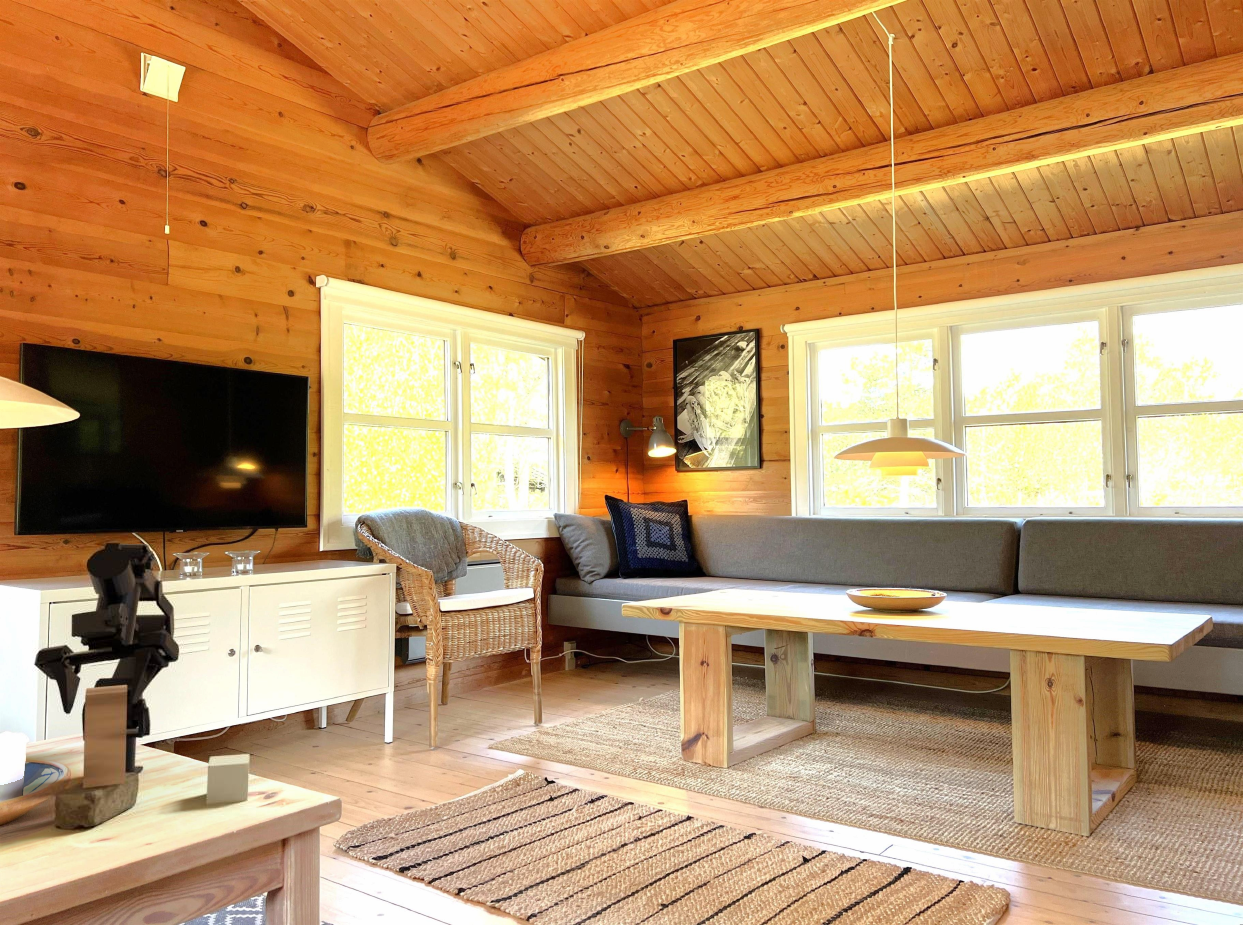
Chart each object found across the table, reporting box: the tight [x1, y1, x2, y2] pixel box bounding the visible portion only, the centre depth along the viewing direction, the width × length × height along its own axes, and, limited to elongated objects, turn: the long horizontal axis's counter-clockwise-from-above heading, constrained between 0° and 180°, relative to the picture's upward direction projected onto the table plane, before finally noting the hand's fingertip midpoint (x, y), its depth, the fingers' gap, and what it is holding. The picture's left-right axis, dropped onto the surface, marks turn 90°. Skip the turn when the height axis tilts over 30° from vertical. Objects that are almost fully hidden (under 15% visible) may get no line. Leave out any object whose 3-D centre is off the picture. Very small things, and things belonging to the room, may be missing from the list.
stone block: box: [53, 772, 140, 830], centre depth 129 cm, size 6×12×5 cm, turn 177°
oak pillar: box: [82, 685, 127, 788], centre depth 129 cm, size 5×5×12 cm
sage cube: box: [206, 753, 251, 805], centre depth 138 cm, size 6×6×6 cm
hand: (99, 707), depth 136 cm, fingers open, 9 cm apart
